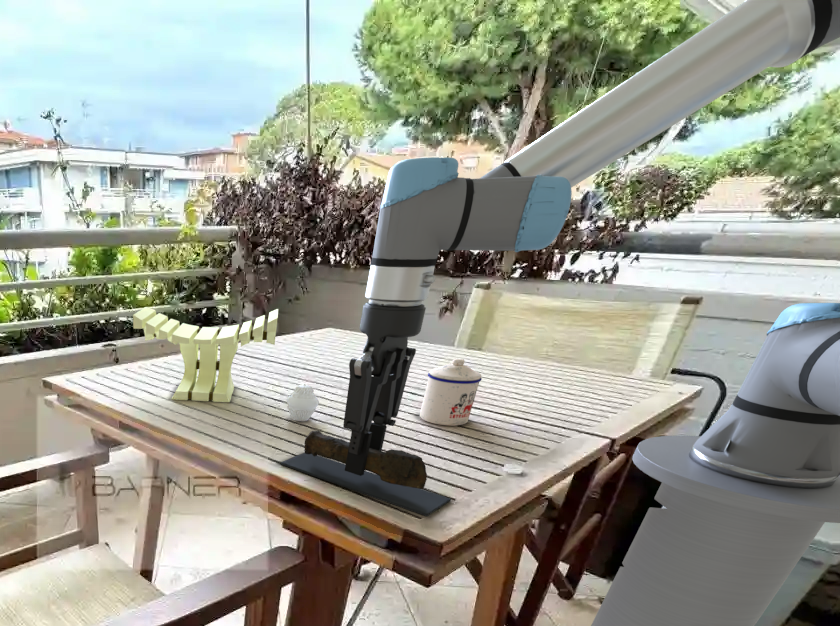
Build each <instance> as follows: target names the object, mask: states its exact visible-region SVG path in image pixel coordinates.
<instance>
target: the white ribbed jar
mask: <svg viewBox="0 0 840 626" xmlns="http://www.w3.org/2000/svg"><path fill="white" fill-rule="evenodd" d="M291 393H292V394H290V395H288V397H287V398H286V405H287V409H288V413H289V415H290V417H291V420H293V421H296V422H307V421H309V420H310V419H311V417H312V416H313V414H314V413H315V411H316V410H317V408H318V407H319V404H320V400H319V398H318V397H317V396H316V394H315V392H314V388H313V387H312V386H311V385H309V384H306V383H305V384H299V385H297V386H296V387H295V388H294V391H293V392H291Z"/></svg>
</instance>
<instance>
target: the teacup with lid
mask: <svg viewBox="0 0 840 626" xmlns="http://www.w3.org/2000/svg"><path fill="white" fill-rule="evenodd" d="M427 376H428V378H427V381H426V382H427V383H426V387H425V390H424V395H423V399H422V403H421V406H420V411H419V412H420V413H419V418H421V419H422V420H423V421H425V422H428V423H431V424H435V425H440V426H449V427H451V426H453V427H455V426H463V425H465V424H467V423H468V422H469V418H470V416H471V412H472V409H473V405H474V402H475V399H476V395H477V391H478V388H479V384H480V382H481V381H482V379H483V378H482V374H481V373H480V372H479V371H476V370H473V369H472V368H471V367H470V366H468V365H467V364H465V359H463V358H453V359H452V361H451V362H450V363H447V364H444V365H442V366H439V367H434V368H432V369H430V371H429V372H428V373H427Z"/></svg>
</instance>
